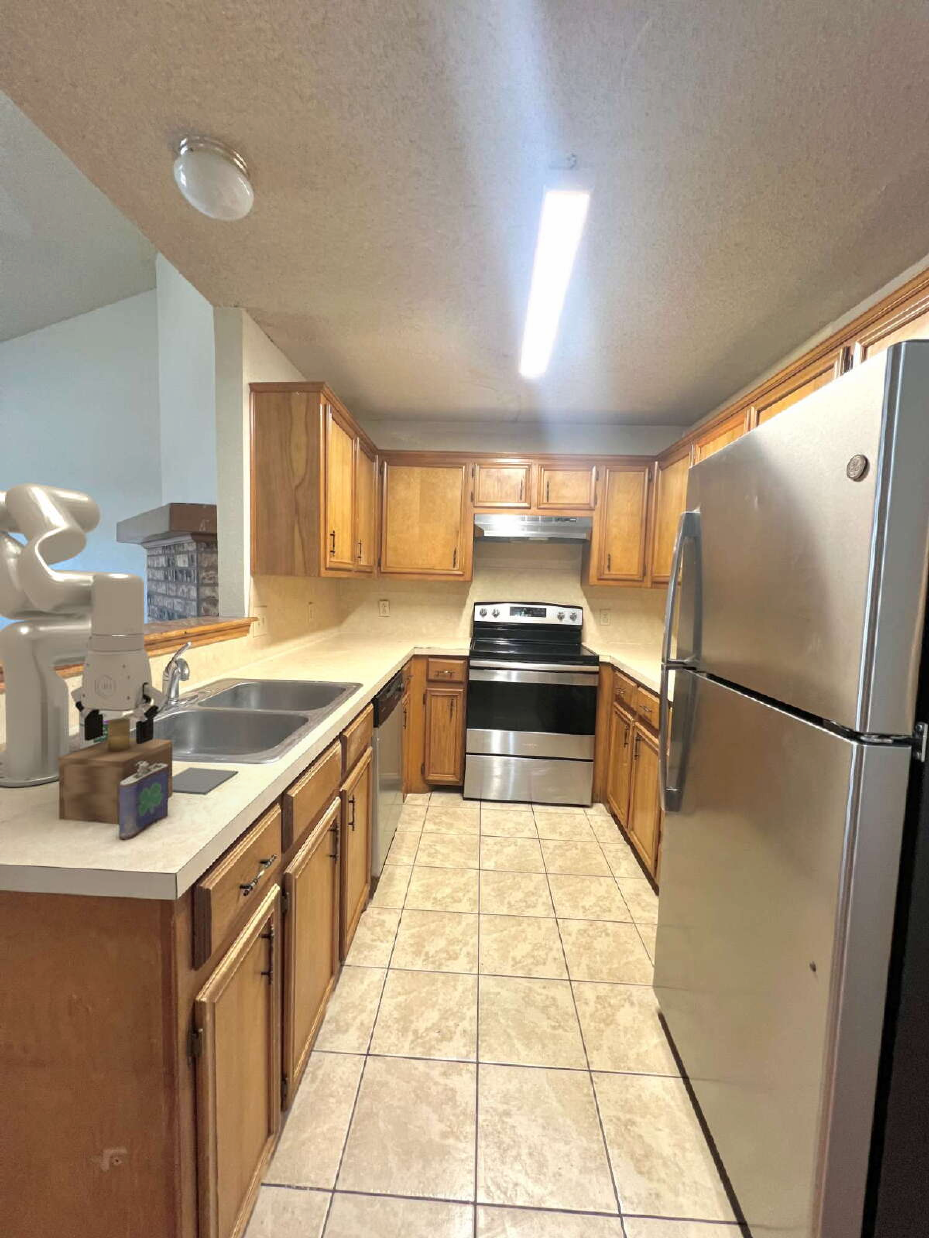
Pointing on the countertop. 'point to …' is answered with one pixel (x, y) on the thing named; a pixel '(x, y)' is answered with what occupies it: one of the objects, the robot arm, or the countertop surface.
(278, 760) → the countertop surface
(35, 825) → the countertop surface
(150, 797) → the flask
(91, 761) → the brown block with knob
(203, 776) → the mat
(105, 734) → the syrup box
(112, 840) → the countertop surface
